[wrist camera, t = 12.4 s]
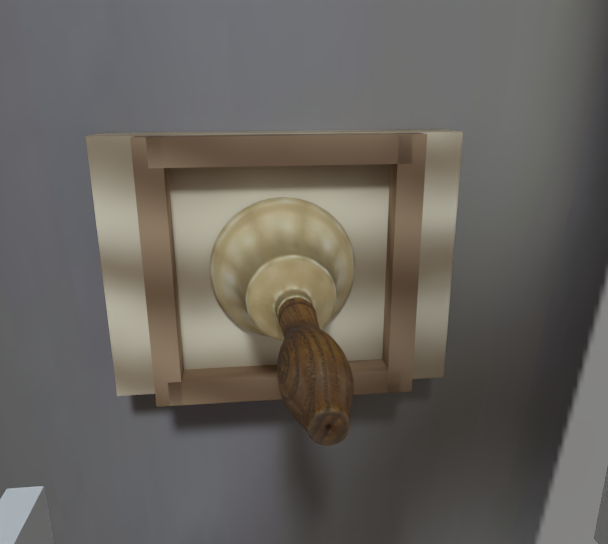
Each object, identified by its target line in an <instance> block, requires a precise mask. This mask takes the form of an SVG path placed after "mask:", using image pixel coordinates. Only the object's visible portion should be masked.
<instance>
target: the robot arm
mask: <svg viewBox="0 0 608 544" xmlns="http://www.w3.org/2000/svg"><path fill="white" fill-rule="evenodd" d="M594 539H595V540H596V541H597V543H598V544H608V468H607V473H606V478H605V483H604V489H603V494H602V499H601V504H600V509H599V515H598V520H597V525H596V530H595V536H594ZM0 544H54V540H53V535H52V529H51V523H50V518H49V512H48V507H47V501H46V495H45V490H44V486H39V487H25V488H10V489H6V491H5V493H4V494H3V496H2V498H1V499H0Z"/></svg>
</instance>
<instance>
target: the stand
mask: <svg viewBox="0 0 608 544" xmlns="http://www.w3.org/2000/svg"><path fill="white" fill-rule="evenodd" d="M462 138H463V132H460V131H453V130H446V129H421V130H333V131H244V132H156V133H99V134H94V135H90V136H86V142H87V151H88V159H89V167H90V175H91V184H92V192H93V200H94V208H95V216H96V225H97V233H98V241H99V249H100V258H101V266H102V274H103V282H104V290H105V299H106V307H107V315H108V323H109V332H110V340H111V348H112V356H113V364H114V373H115V381H116V389H117V396H124V395H142V394H155V397H156V407H161V406H178V405H195V404H212V403H228V402H245V401H262V400H279V399H282V397H281V394H280V389H279V385H278V379H277V360H278V355H279V351H280V348H281V345H282V343H283V341H280V340H276V339H273V338H271V337H267V336H262V335H259V334H256V333H253V332H251V331H249V330H247V329H245V328H243V327H242V326H240V325H239V324H237V323H236V322H235V321H233V320H232V319H231V318H230V317H229V316H228V315H227V314H226V313H225V311H224V310H223V309H222V307H221V306H220V304H219V302H218V301H217V299H216V297H215V294H214V292H213V289H212V285H211V280H210V274H209V272H210V258H211V253H212V249H213V246H214V243H215V241H216V239H217V237H218V235H219V233H220V231H221V230H222V229H223V227H224V226H225V225H226V224H227V222H228V221H229V220H230V219H231V218H232V217H233V216H235V215H236V214H237V213H238V212H240V211H241V210H243V209H244V208H246V207H248V206H250V205H252V204H254V203H256V202H259V201H262V200H266V199H270V198H279V197H288V198H297V199H302V200H305V201H308V202H311V203H314V204H316V205H318V206H320V207H321V208H323V209H324V210H326V211H327V212H329V213H330V214H331V215H332V216H334V217H335V218H336V219H337V220H338V221H339V223H340V224H341V225H342V227H343V228H344V230H345V231H346V233H347V235H348V237H349V239H350V242H351V244H352V247H353V252H354V257H355V274H354V281H353V285H352V288H351V291H350V293H349V295H348V297H347V299H346V301H345V303H344V304H343V306H342V307H341V309H340V310H339V311H338V312H337V313H336V314H335V315H334V316H333V317H332V318H331V319H330V320H329V322H328V323H327V324H326V325H325V327H324V328H322V329H321V330H323V331H324V332H326V333H327V334H328V335H330V336H331V337H332V338H333V339H334V340H335V341H336V342H337V344H338V345H339V346H340V348H341V349H342V351H343V352H344V354H345V356H346V358H347V360H348V363H349V365H350V368H351V371H352V375H353V380H354V395H364V394H380V393H397V392H412V380H413V379H423V378H441V377H444V365H445V353H446V340H447V328H448V315H449V302H450V290H451V277H452V264H453V252H454V239H455V226H456V214H457V201H458V188H459V176H460V163H461V151H462Z"/></svg>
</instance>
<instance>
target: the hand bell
mask: <svg viewBox="0 0 608 544" xmlns="http://www.w3.org/2000/svg"><path fill="white" fill-rule="evenodd" d="M209 274H210V280H211V285H212V289H213V292H214V294H215V297H216V299H217V301H218V302H219V304H220V306H221V307H222V309H223V310H224V311H225V313H226V314H227V315H228V316H229V317H230V318H231V319H232V320H233V321H235V322H236V323H237V324H239V325H240V326H242V327H243V328H245V329H247V330H249V331H251V332H253V333H256V334H259V335H262V336H267V337H271V338H273V339H276V340H280V341H283V343H282V345H281V348H280V351H279V355H278V360H277V379H278V385H279V389H280V394H281V397H282V399H283V401H284V403H285V405H286V407H287V409H288V410H289V412H290V413H291V414H292V415H293V417H294V418H295V419H296V420H297V421H298V422H299V423H300V424H301V425H302V426H303V427H304V428H305V429H306V431H307V432H308V434H309V436H310V437H311V439H312V440H313V441H315V442H316V443H318V444H321V445H325V446H330V445H334V444H337V443H339V442H341V441H343V440H344V438H345V437H346V436H347V435H348V433H349V430H350V411H351V407H352V403H353V397H354V380H353V375H352V371H351V368H350V365H349V363H348V360H347V358H346V356H345V354H344V352H343V351H342V349H341V348H340V346H339V345H338V344H337V342H336V341H335V340H334V339H333V338H332V337H331V336H330V335H328V334H327V333H326V332H324V331H323V330H321V329H322V328H324V327H325V325H326V324H327V323H328V322H329V320H330V319H331V318H332V317H333V316H334V315H335V314H336V313H337V312H338V311H339V310H340V309H341V307H342V306H343V304H344V303H345V301H346V299H347V297H348V295H349V293H350V291H351V288H352V285H353V281H354V274H355V257H354V252H353V247H352V244H351V242H350V239H349V237H348V235H347V233H346V231H345V230H344V228H343V227H342V225H341V224H340V223H339V221H338V220H337V219H336V218H335V217H334V216H332V215H331V214H330V213H329V212H327V211H326V210H324V209H323V208H321V207H320V206H318V205H316V204H314V203H311V202H308V201H305V200H302V199H297V198H288V197H279V198H270V199H266V200H262V201H259V202H256V203H254V204H252V205H250V206H248V207H246V208H244V209H243V210H241V211H240V212H238V213H237V214H236V215H235V216H233V217H232V218H231V219H230V220H229V221H228V222H227V224H226V225H225V226H224V227H223V229H222V230H221V231H220V233H219V235H218V237H217V239H216V241H215V243H214V246H213V249H212V253H211V258H210V272H209Z"/></svg>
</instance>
